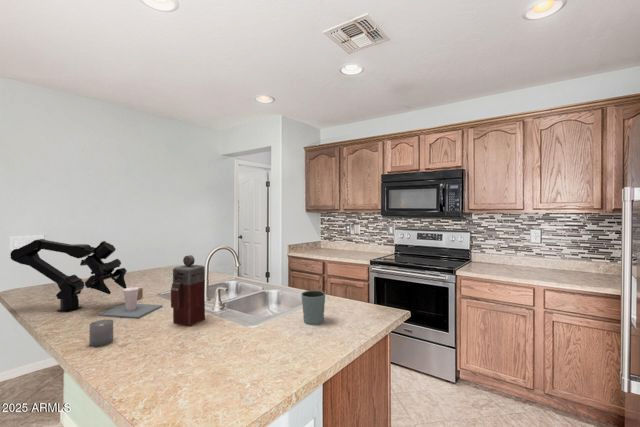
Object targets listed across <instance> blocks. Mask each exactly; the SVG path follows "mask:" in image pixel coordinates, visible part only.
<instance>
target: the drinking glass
mask: <svg viewBox="0 0 640 427" xmlns="http://www.w3.org/2000/svg"><path fill="white" fill-rule="evenodd" d="M300 296H301V303H302V313H303V323H304V324H306V325H310V326H318V325H323V323H324V319H325V302H326V292H324V291H321V290H305V291H302V292H301V294H300Z"/></svg>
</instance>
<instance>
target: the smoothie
mask: <svg viewBox="0 0 640 427" xmlns="http://www.w3.org/2000/svg"><path fill="white" fill-rule="evenodd" d="M130 284H131V285H130V287H127V288H125V289H124V288H123V289H122V292H123V295H124V303H125V304H126V310H127V311H132V310H135V309H136V304H138V303H137V301H138V300H137V295H138V290H139V288H140V287H138V286H134V279H131V282H130Z"/></svg>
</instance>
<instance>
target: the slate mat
mask: <svg viewBox="0 0 640 427" xmlns="http://www.w3.org/2000/svg"><path fill="white" fill-rule="evenodd" d="M161 308H163V304H149V303H137V304H136V309H135V310H132V311H127V310H126V304H125V302H124V303H122V304H120V305H116V306H114V307H112V308H110V309H107V310H104V311H102V312H99V313H97V317H108V318H120V319H121V318H123V319H137V320H138V319H140V318H142V317H144V316H145V317H146V316H147V315H149V314H151V313H153V312H155V311H157V310H159V309H161Z"/></svg>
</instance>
